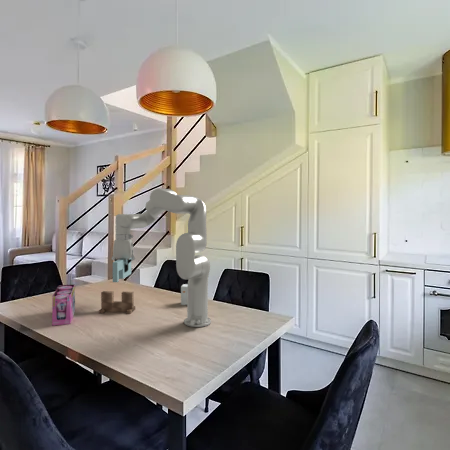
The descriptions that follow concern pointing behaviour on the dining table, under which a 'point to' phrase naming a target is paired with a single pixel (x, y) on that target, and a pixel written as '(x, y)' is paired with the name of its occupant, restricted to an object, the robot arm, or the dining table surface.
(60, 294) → the gum box
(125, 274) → the notched board
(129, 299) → the notched wall
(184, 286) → the small box
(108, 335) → the dining table surface
